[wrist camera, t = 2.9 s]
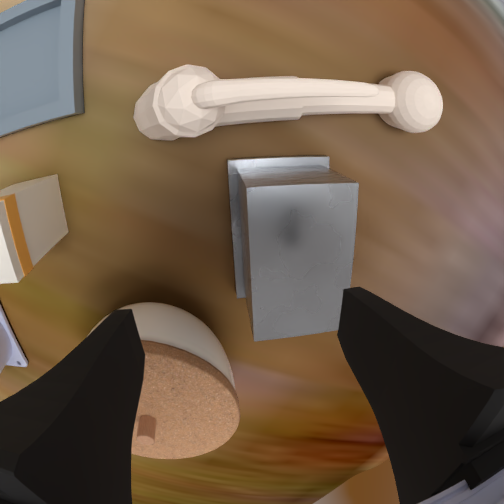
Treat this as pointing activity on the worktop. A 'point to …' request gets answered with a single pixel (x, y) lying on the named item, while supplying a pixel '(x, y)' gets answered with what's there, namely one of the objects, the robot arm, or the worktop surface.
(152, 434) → the lidded jar
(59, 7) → the tray
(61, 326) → the worktop surface
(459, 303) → the worktop surface
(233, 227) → the block
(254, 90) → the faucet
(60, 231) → the cartridge
